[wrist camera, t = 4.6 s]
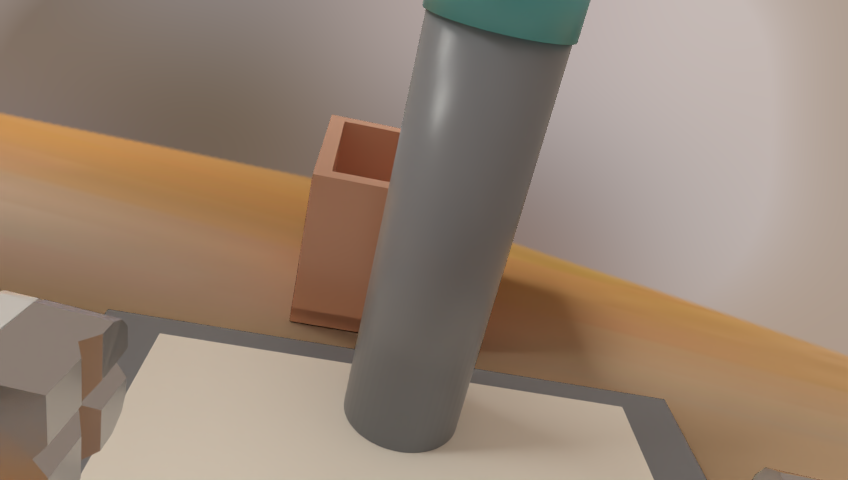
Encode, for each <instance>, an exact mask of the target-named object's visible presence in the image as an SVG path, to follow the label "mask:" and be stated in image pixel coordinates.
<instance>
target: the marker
mask: <svg viewBox="0 0 848 480" xmlns="http://www.w3.org/2000/svg"><path fill="white" fill-rule="evenodd" d="M589 3H590V0H423V7H424V8H425V9H426V11H425V16H424V21H423V25H422V30H421V35H420V40H419V45H418V49H417V54H416V59H415V64H414V68H413V73H412V78H411V83H410V88H409V93H408V97H407V102H406V107H405V112H404V117H403V121H402V126H401V131H400V136H399V140H398V145H397V150H396V155H395V160H394V164H393V169H392V174H391V179H390V184H389V188H388V193H387V198H386V203H385V207H384V212H383V217H382V222H381V227H380V231H379V236H378V241H377V246H376V251H375V255H374V260H373V265H372V270H371V275H370V279H369V284H368V289H367V294H366V299H365V303H364V308H363V313H362V318H361V323H360V327H359V332H358V337H357V342H356V347H355V351H354V356H353V361H352V366H351V370H350V375H349V380H348V385H347V390H346V394H345V399H344V411H345V415H346V417H347V420H348V421H349V423H350V424H351V426H352V427H353V428H354V429H355V430H356V431H357V432H358V433H359V434H360V435H361V436H362V437H364V438H365V439H367V440H368V441H370V442H372V443H374V444H376V445H378V446H380V447H383V448H385V449H389V450H393V451H397V452H404V453H420V452H427V451H431V450H434V449H436V448H439V447H441V446H442V445H444V444H445V443H447V442H448V441H449V440H450V439H451V438H452V436H453V434H454V432H455V430H456V427H457V423H458V420H459V417H460V413H461V410H462V407H463V404H464V400H465V397H466V394H467V390H468V387H469V384H470V380H471V377H472V374H473V371H474V367H475V364H476V361H477V357H478V354H479V351H480V347H481V344H482V341H483V338H484V334H485V331H486V328H487V324H488V321H489V318H490V314H491V311H492V308H493V305H494V301H495V298H496V295H497V291H498V288H499V285H500V282H501V278H502V275H503V272H504V268H505V265H506V262H507V258H508V255H509V252H510V249H511V245H512V242H513V239H514V235H515V232H516V229H517V225H518V222H519V219H520V216H521V212H522V209H523V206H524V202H525V199H526V196H527V193H528V189H529V186H530V183H531V179H532V176H533V173H534V169H535V166H536V163H537V159H538V156H539V153H540V149H541V146H542V143H543V140H544V136H545V133H546V130H547V126H548V123H549V120H550V117H551V113H552V110H553V107H554V104H555V100H556V97H557V94H558V90H559V87H560V83H561V80H562V77H563V74H564V71H565V67H566V64H567V61H568V57H569V54H570V51H571V47H572V45H574V44H577V42H578V39H579V36H580V33H581V29H582V26H583V23H584V19H585V16H586V13H587V10H588V6H589Z"/></svg>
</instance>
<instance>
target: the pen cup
mask: <svg viewBox="0 0 848 480" xmlns="http://www.w3.org/2000/svg"><path fill="white" fill-rule="evenodd" d="M400 131H401V129H400V128H395V127H390V126H385V125H381V124H376V123H371V122H366V121H361V120H356V119H351V118H346V117H341V116H336V115H332V116H331V119H330V123H329V125H328V128H327V132H326V135H325V138H324V141H323V144H322V147H321V150H320V153H319V156H318V159H317V162H316V165H315V169H314V172H313V176H312V182H311V188H310V195H309V201H308V207H307V214H306V220H305V226H304V233H303V239H302V245H301V252H300V258H299V264H298V271H297V277H296V283H295V290H294V296H293V302H292V309H291V315H290V321H293V322H299V323H305V324H312V325H318V326H324V327H330V328H336V329H342V330H348V331H354V332H359V327H360V323H361V318H362V313H363V308H364V303H365V299H366V294H367V289H368V284H369V279H370V275H371V270H372V265H373V260H374V255H375V251H376V246H377V241H378V236H379V231H380V227H381V222H382V217H383V212H384V207H385V203H386V198H387V193H388V188H389V184H390V179H391V174H392V169H393V164H394V160H395V155H396V150H397V145H398V140H399V136H400Z"/></svg>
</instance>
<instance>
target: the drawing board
mask: <svg viewBox="0 0 848 480" xmlns="http://www.w3.org/2000/svg"><path fill="white" fill-rule="evenodd" d="M104 315H108V316H112V317H116V318H120V319H123V321H124V322H125V323H126V324H127V326H128V349H127V350H126V351H125V352H124V354H123V355H122V356H121V357H120V359H119V360H118V361H117V364H118V365H119V367H120V368H121V370H122V371H123V373H124V374H125V376H126V377H127V379H126V394H125V399H124V403H123V408H122V412H121V414H120V416H119V419H118V421H117V423H116V426H115V428H114V430H113V433H112V435H111V436H110V437H109V439H108V440H107V442H106V443H105V445H104V446H103V448H102V449H101V451H99V452H97V453H95V454H93V455H91V456H89V457H86V458H84V459H82V460H81V479H80V480H707V479H706V477H705V475H704V474H703V472H702V470H701V468H700V466H699V464H698V462H697V460H696V458H695V457H694V455H693V453H692V451H691V449H690V447H689V445H688V443H687V441H686V440H685V438H684V436H683V434H682V432H681V430H680V428H679V426H678V424H677V422H676V421H675V419H674V417H673V415H672V413H671V411H670V409H669V407H668V405H667V404H666V402H665V400H664V399H659V398H653V397H647V396H641V395H635V394H628V393H622V392H616V391H610V390H604V389H597V388H591V387H585V386H579V385H573V384H567V383H560V382H554V381H548V380H542V379H536V378H530V377H523V376H517V375H511V374H505V373H499V372H493V371H486V370H480V369H474V371H473V374H472V377H471V380H470V384H469V387H468V390H467V394H466V397H465V400H464V404H463V407H462V410H461V413H460V417H459V420H458V423H457V427H456V430H455V432H454V434H453V436H452V438H451V439H450V440H449V441H448V442H447V443H445V444H444V445H442V446H441V447H439V448H436V449H434V450H431V451H427V452H420V453H404V452H397V451H393V450H389V449H385V448H383V447H380V446H378V445H376V444H374V443H372V442H370V441H368V440H367V439H365V438H364V437H362V436H361V435H360V434H359V433H358V432H357V431H356V430H355V429H354V428H353V427H352V426H351V424H350V423H349V421H348V420H347V417H346V415H345V411H344V399H345V394H346V390H347V385H348V380H349V375H350V370H351V366H352V361H353V356H354V351H355V349H351V348H344V347H338V346H332V345H326V344H320V343H314V342H307V341H301V340H295V339H289V338H283V337H276V336H270V335H264V334H258V333H252V332H246V331H239V330H233V329H227V328H221V327H215V326H209V325H202V324H196V323H190V322H184V321H178V320H172V319H165V318H159V317H153V316H147V315H141V314H135V313H128V312H122V311H116V310H110V309H108V310H107V311H106V313H105V314H104Z"/></svg>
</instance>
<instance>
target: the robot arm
mask: <svg viewBox="0 0 848 480" xmlns="http://www.w3.org/2000/svg"><path fill="white" fill-rule="evenodd" d="M127 349H128V326H127V324H126V323H125V322H124V321H123V319H120V318H116V317H112V316H108V315H104V314H100V313H96V312H92V311H88V310H84V309H80V308H76V307H72V306H69V305H65V304H61V303H57V302H53V301H49V300H41V299H39V298H36V297H31V296H27V295H23V294H19V293H14V292H10V291H6V290H3V291H0V480H80V479H81V460H82V459H84V458H86V457H89V456H91V455H93V454H95V453H97V452H99V451H101V449H102V448H103V446H104V445H105V443H106V442H107V440H108V439H109V437H110V436H111V435H112V433H113V430H114V428H115V426H116V423H117V421H118V419H119V416H120V414H121V412H122V408H123V403H124V399H125V394H126V379H127V377H126V376H125V374H124V373H123V371H122V370H121V368H120V367H119V365H118V364H117V361H118V360H119V359H120V357H121V356H122V355H123V354H124V352H125V351H126V350H127ZM752 480H820V479H816V478H811V477H807V476H803V475H798V474H794V473H789V472H785V471H780V470H776V469H771V468H767V467H765V468H764V469H763V470H761V471H760V472H758V473H757V474H756V475H755V476H754V478H753V479H752Z"/></svg>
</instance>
